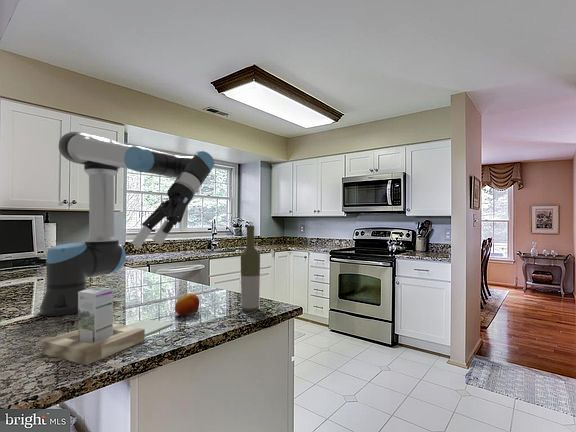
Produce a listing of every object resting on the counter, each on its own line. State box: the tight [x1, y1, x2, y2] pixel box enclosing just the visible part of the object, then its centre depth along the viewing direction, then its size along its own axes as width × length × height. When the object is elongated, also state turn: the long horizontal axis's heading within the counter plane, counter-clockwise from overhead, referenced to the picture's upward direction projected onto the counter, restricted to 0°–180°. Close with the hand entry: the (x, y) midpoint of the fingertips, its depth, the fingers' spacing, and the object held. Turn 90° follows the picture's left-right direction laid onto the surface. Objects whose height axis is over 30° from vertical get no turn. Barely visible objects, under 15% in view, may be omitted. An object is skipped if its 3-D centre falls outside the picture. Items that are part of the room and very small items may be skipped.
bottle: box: [240, 225, 261, 312], centre depth 117 cm, size 7×7×30 cm
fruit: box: [174, 293, 200, 317], centre depth 112 cm, size 8×8×8 cm
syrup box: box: [77, 287, 114, 344], centre depth 83 cm, size 6×6×14 cm
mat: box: [126, 318, 173, 337], centre depth 97 cm, size 11×11×1 cm
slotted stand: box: [41, 323, 146, 366], centre depth 83 cm, size 16×16×3 cm
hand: (145, 243), depth 94 cm, fingers open, 13 cm apart
